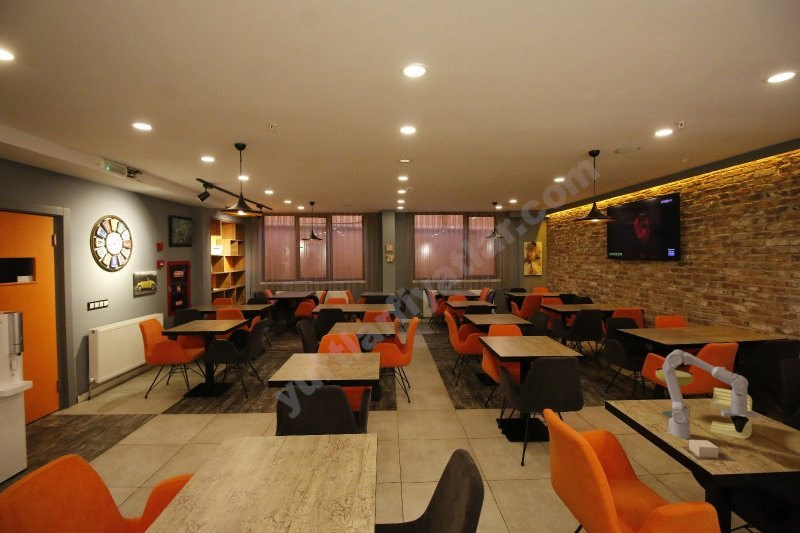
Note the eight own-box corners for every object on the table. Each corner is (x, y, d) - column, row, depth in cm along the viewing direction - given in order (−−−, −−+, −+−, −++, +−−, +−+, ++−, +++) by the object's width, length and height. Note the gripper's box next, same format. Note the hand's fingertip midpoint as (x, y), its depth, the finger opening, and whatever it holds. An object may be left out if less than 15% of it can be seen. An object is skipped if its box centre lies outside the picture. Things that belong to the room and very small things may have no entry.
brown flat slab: (680, 449, 186) (680, 446, 186) (716, 451, 184) (717, 447, 184) (697, 462, 174) (697, 459, 174) (736, 464, 173) (736, 461, 172)
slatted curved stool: (751, 446, 189) (751, 410, 188) (709, 436, 199) (709, 402, 199) (751, 426, 211) (752, 393, 211) (713, 418, 222) (714, 387, 221)
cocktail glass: (695, 424, 214) (696, 378, 214) (656, 417, 223) (656, 374, 223) (690, 412, 230) (691, 370, 230) (654, 407, 239) (654, 366, 239)
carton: (707, 450, 182) (689, 449, 183) (707, 440, 182) (689, 439, 183) (718, 457, 176) (699, 456, 176) (718, 447, 175) (699, 446, 176)
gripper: (728, 405, 178) (728, 435, 178) (763, 406, 176) (762, 436, 177) (717, 399, 185) (717, 428, 185) (750, 400, 183) (750, 429, 184)
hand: (738, 431), depth 181 cm, fingers closed
